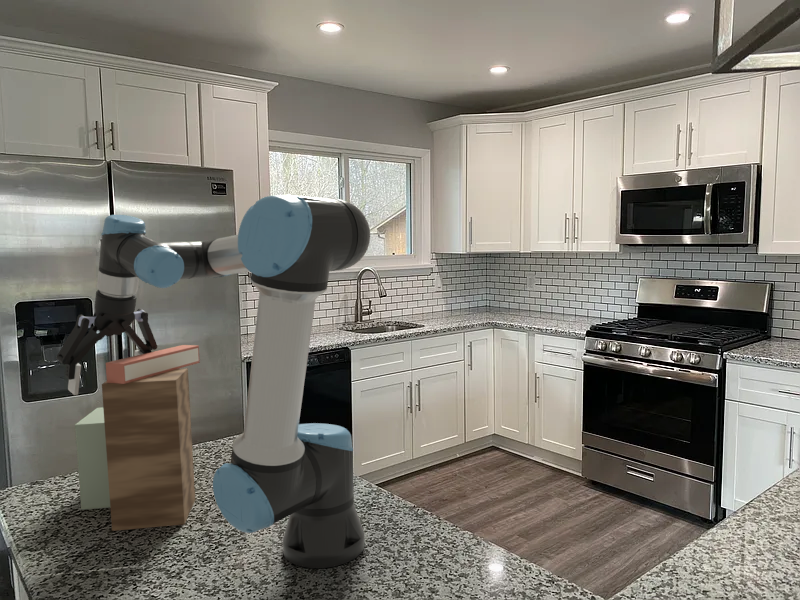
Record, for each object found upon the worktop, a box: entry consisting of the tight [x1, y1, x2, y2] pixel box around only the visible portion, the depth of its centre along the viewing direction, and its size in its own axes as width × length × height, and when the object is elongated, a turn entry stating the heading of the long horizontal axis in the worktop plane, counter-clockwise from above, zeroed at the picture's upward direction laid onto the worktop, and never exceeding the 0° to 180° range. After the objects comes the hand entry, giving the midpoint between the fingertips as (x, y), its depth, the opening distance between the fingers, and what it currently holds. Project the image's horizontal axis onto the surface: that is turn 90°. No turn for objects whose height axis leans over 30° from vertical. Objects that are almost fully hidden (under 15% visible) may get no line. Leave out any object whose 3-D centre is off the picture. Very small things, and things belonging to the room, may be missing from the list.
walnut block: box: [101, 367, 196, 532], centre depth 126 cm, size 12×14×30 cm
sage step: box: [74, 407, 110, 511], centre depth 138 cm, size 14×12×19 cm
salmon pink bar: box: [105, 344, 201, 384], centre depth 128 cm, size 22×4×4 cm, turn 159°
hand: (105, 385), depth 127 cm, fingers open, 13 cm apart
